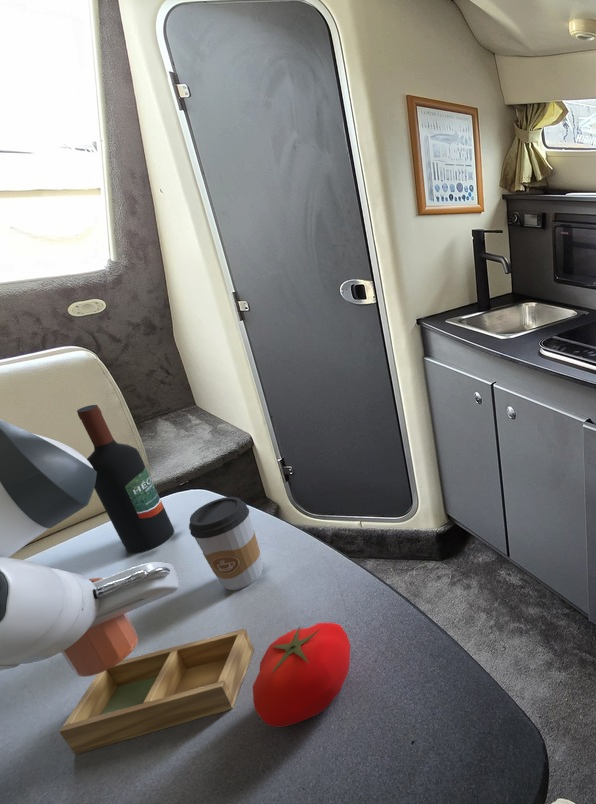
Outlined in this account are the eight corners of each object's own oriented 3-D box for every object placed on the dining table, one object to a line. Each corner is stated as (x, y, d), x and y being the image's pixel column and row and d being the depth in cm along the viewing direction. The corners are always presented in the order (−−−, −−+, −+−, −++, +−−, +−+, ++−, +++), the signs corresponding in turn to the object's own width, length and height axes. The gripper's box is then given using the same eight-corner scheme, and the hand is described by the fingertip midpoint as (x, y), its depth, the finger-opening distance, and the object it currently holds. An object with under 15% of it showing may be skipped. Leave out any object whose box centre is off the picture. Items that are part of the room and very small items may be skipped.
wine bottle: (138, 531, 102) (75, 403, 91) (181, 522, 104) (124, 396, 93) (117, 557, 95) (46, 422, 84) (163, 547, 97) (100, 414, 86)
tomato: (377, 664, 73) (362, 613, 69) (302, 757, 62) (279, 703, 58) (320, 643, 76) (302, 593, 72) (240, 726, 65) (214, 673, 61)
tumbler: (62, 684, 61) (23, 626, 58) (93, 640, 67) (60, 585, 63) (122, 668, 63) (88, 610, 59) (148, 626, 69) (118, 572, 65)
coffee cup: (206, 601, 85) (175, 532, 79) (227, 565, 92) (199, 500, 87) (261, 589, 87) (234, 521, 81) (276, 555, 94) (252, 490, 89)
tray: (232, 708, 68) (221, 686, 66) (74, 755, 63) (58, 732, 61) (254, 649, 76) (245, 628, 74) (116, 686, 71) (103, 664, 69)
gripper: (156, 541, 59) (185, 558, 70) (-116, 642, 48) (-31, 643, 59) (168, 592, 58) (196, 601, 68) (-110, 709, 46) (-23, 697, 57)
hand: (90, 621), depth 63 cm, fingers closed on tumbler, 6 cm apart
